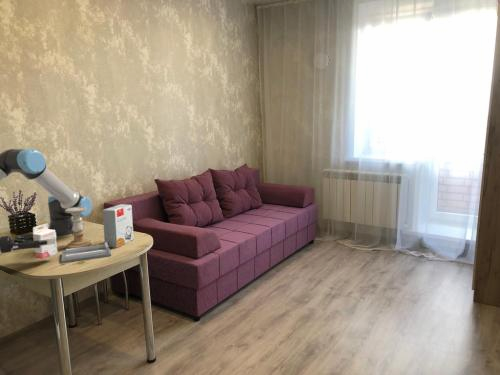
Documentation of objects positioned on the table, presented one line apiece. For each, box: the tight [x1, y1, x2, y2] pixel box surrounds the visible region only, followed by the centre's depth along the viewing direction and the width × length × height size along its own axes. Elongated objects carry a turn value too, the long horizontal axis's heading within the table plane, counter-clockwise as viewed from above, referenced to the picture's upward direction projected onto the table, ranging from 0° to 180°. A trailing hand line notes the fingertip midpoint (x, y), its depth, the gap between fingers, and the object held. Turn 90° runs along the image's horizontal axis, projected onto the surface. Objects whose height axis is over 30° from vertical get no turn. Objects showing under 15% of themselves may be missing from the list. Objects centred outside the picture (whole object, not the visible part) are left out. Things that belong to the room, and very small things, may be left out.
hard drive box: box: [102, 203, 134, 249], centre depth 213 cm, size 16×8×20 cm, turn 162°
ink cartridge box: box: [32, 222, 58, 260], centre depth 187 cm, size 9×5×15 cm, turn 157°
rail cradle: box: [61, 240, 112, 264], centre depth 197 cm, size 14×22×4 cm, turn 113°
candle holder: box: [65, 207, 93, 249], centre depth 210 cm, size 12×12×20 cm
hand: (55, 237), depth 189 cm, fingers closed on ink cartridge box, 9 cm apart
